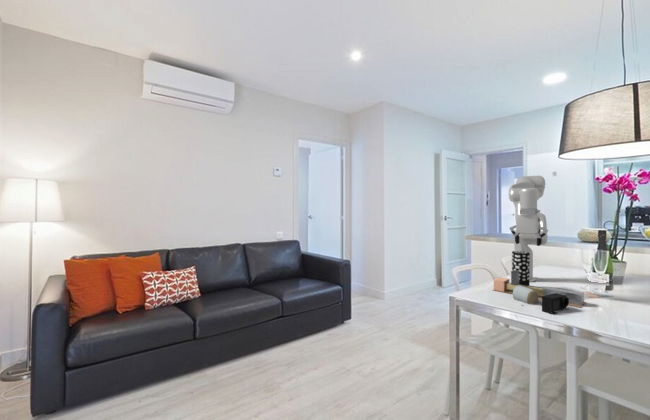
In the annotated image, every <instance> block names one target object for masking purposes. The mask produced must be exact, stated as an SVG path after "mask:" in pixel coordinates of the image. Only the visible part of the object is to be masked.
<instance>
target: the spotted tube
mask: <svg viewBox="0 0 650 420" xmlns="http://www.w3.org/2000/svg"><path fill="white" fill-rule="evenodd" d="M513 270H516V271H519V284H520V285H526V286H530V282H529V275H530V253H529V252H523V251H515V250H513V251H511V271H513Z"/></svg>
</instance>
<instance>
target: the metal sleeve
mask: <svg viewBox="0 0 650 420" xmlns="http://www.w3.org/2000/svg"><path fill="white" fill-rule="evenodd" d="M554 293H558V294H562V295H566V297H567V298H568V299H569V304H573V305H578V306H583V304H584V302H585V292H581V291H575V290H568V289H563V288H557V287H550V286H545V287H544V288H543V296H545V295H549V294H554ZM583 307H584V306H583Z"/></svg>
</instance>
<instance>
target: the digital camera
mask: <svg viewBox="0 0 650 420" xmlns="http://www.w3.org/2000/svg"><path fill="white" fill-rule="evenodd" d="M568 304H569V299H568V298H567V297H566V295H562V294H558V293H554V294H549V295H545V296H542V300H541V312H543V313H546V314H549V315H556V314H558V312H559V311H563V310H566V309H567V308H568V307H569V306H568Z"/></svg>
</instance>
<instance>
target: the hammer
mask: <svg viewBox="0 0 650 420" xmlns="http://www.w3.org/2000/svg"><path fill="white" fill-rule="evenodd" d="M518 285H520V284H519V271H516V270H513V271H512V270H511V271H510V282H509V283H508V282H505V289H508V290H514V288H515V287H516V286H518ZM521 286H523V287H526V288H529V289H532V290H534V291H536V292H537V294H538V295H540V296H543V288H541V287H536V286H531V285H529V286H526V285H521Z"/></svg>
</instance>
